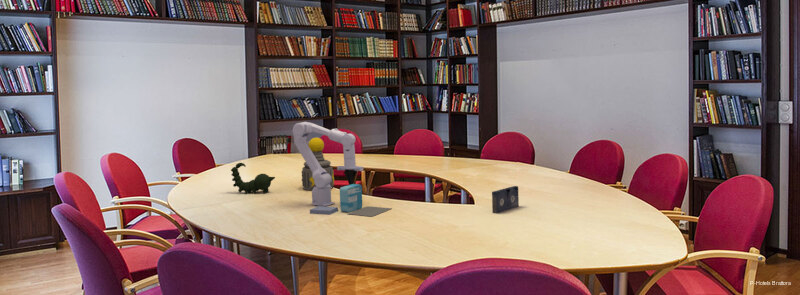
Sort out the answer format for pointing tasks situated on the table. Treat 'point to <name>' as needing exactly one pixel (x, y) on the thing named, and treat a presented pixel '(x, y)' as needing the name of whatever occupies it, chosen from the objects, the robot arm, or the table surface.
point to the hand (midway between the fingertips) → (351, 184)
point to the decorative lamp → (316, 148)
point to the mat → (369, 211)
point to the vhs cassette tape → (505, 199)
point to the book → (323, 210)
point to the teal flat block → (350, 198)
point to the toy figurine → (254, 185)
